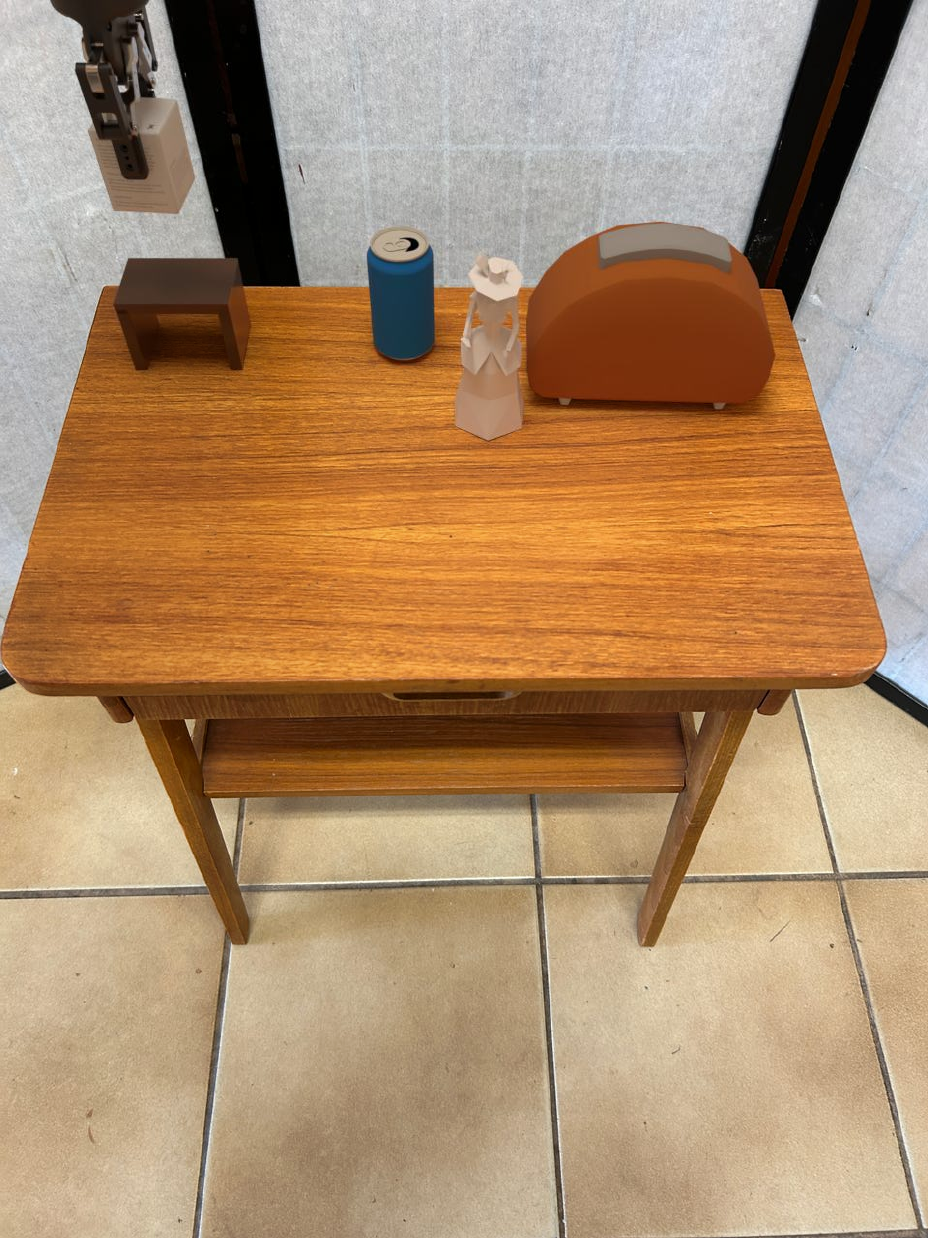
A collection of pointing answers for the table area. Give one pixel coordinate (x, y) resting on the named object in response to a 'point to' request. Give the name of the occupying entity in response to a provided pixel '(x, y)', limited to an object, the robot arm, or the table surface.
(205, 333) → the table surface
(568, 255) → the orange toaster
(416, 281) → the beverage can
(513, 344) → the figurine
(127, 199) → the product box
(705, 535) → the table surface
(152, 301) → the shelf
